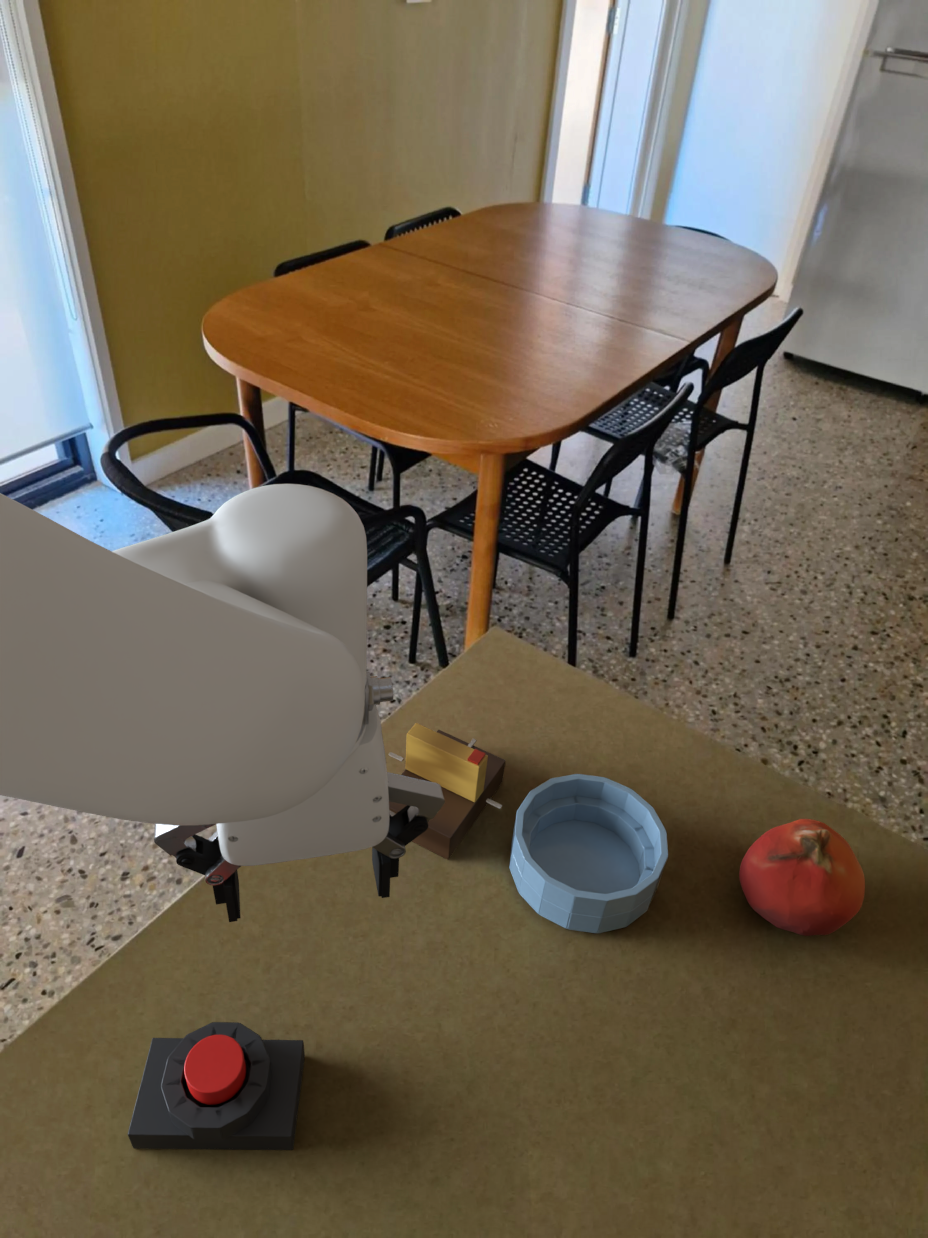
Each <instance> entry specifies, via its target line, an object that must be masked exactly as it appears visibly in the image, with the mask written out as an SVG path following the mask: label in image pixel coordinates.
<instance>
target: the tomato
mask: <svg viewBox="0 0 928 1238" xmlns="http://www.w3.org/2000/svg"><path fill="white" fill-rule="evenodd" d="M738 877H739V883H740V886H741V890H742V892H743V895H744V896H745V899H746V901H747V903H748V905H749V906H750V908H752V910H753V911H754V912H756V913H757V915H759V916H760V917H761V918H762V919H764V920H765V921H767V922H768V923H770V924H771V925H773V926H774V927H776V928H777V929H781V930H783V931H788V932H791V933H795V934H797V935H800V936H804V937H813V936H827V935H831V934H833V933H835V932H836V931H838V930H839V929H840V928H842V927H843V926H845V925H846V924H847V923H849V922H850V921H851V920H852V919H853V918H854V917H855V916H856V915H857V914H858V913H859V912H860V910H861V908H862V907H863V902H864V899H865V893H866V879H865V878H866V877H865V873H864V871H863V868H862V866H861V864H860V862H859V860H858V858H857V856H856V854H855V853H854V850H853V848H852V846H851V845H850V843H849V842H848V841H847V840H846V839H845V838H844V837H843V836H842V835H841V834H840V833H839V832H838V831H836V830H834V829H833V828H832V827H831V826H829V825H828V824H827V823H825V822H823V821H821V820H816V819H812V818H798V819H796V820H793V821H791V822H788V823H785V824H784V823H783V824H781V825H777V826H774V827H772V828H770V829H768V830H767V831H765V832H764V833H763V834H762V835H760V836H759V837H758V838H757V839H756V840H755V841H754V842H753V843H752V844H751V846H749V848H748V849H747V850H746V852H745V854H744V856H743V857H742V860H741V862H740V866H739V873H738Z"/></svg>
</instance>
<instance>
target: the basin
mask: <svg viewBox="0 0 928 1238" xmlns="http://www.w3.org/2000/svg"><path fill="white" fill-rule="evenodd" d="M510 844H511V845H510V855H509V857H510V858H509V865H508V867H509V871H510V874H511V877H512V879H513V882H514V884H515V887H516V891H517V892H518V894H519V895H520V896H521V897H522V899H524V901H525V902H526V903H527V904H528V905H529V906H530V907H531V909H533V911H534V912H535V913H536V914H537V915H538V916H541V917H542V918H544V919H546V920H548V921H550V922H552V923H553V924H556V925H558V926H560V927H562V928H564V929H566V930H569V931H578V932H584V933H592V934H602V933H607V932H610V931H614V930H619V929H622V928H623V929H624V928H627V927H628V926H630V925H631V924H632V923H634V922H635V921H636V920H637V919H638V918H640V917H642V916H643V915H644V914H645V913H646V912H647V911H648V910H649V907H650V905H651V903H652V901H653V899H654V896H655V894H656V892H657V890H658V887H659V884H660V881H661V878H662V875H663V874H664V873H663V872H664V870H665V867H666V864H667V861H668V858H669V848H668V834H667V830H666V828H665V826H664V824H663V822H662V821H661V819H660V817H659V815H658V813H657V811H656V810H655V808H654V806H652V805H651V804H650V803H649V802H647V800H645V799H644V798H643V797H642V796H641V795H640V794H638V793H637V792H636V791H635V790H634V789H632V788H631V787H628V786H626V785H624V784H621V783H619V782H618V781H615V780H612V779H610V778H609V777H604V776H598V775H590V774H583V773H574V774H567V775H563V776H557V777H552V778H549V779H548V780H546V781H545V782H542V783H541V784H539V785H538V786H536V787H534V788H533V789H531V790H530V791H529V792H528V793H527V795H526V796H525V798H524V800H523V801H522V802H521V804H520V806H519V807H518V809H517V810H516V814H515V821H514V826H513V833H512V838H511V843H510Z"/></svg>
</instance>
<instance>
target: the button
mask: <svg viewBox="0 0 928 1238" xmlns="http://www.w3.org/2000/svg"><path fill="white" fill-rule="evenodd" d="M184 1075H185V1078H186V1082H187V1085H188V1089H189V1091H190V1093H191V1095H192V1096H193V1097H194V1098H195V1099H196V1100H197V1101H199V1102H201V1103H203V1104H207V1105H216V1104H220V1103H223V1102H225V1101H227V1100H229V1099H230V1098H232V1097H233V1096H234V1095H235V1094H236V1093H237V1092H238V1091H239V1090H240V1088H241V1086H242V1084H243V1082H244V1080H245V1076H246V1065H245V1060H244V1054H243V1051H242V1048H241V1046H240V1045H239V1043H238V1042H237V1041H236V1040H235V1039H233V1038H231V1037H229V1036H226V1035H212V1036H209V1037H206V1038H204V1039H202V1040H201V1041H199V1042H198V1043H197V1044H196V1045H195V1046H194V1047H193V1048H192V1049H191V1051H190V1052H189V1054H188V1055H187V1058H186V1061H185V1065H184Z"/></svg>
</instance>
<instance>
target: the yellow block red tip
mask: <svg viewBox="0 0 928 1238" xmlns="http://www.w3.org/2000/svg"><path fill="white" fill-rule="evenodd" d="M405 739H406V742H405V743H406V744H405V765H404V766H405V767H404V770H405V769H406V770H408V771H410V772H412V773H414V774H417V775H419V776H421V777H423V778H425V779H427V780H429V781H431V782H434V783H438V784H440V785H441V787H443V788H446V789H448V790H450V791H452V792H454V793H456V794H458V795H460V796H462V797H464V798H466V799H468V800H470V801H472V802H476V801H477V799H478V798H479V796H480V795H481V794H482V792H483V791H484V783H485V775H486V767H487V759H488V755H486V754H485V753H483V752H481V751H479V750H477V749H473V748H470V747H468V746H466V745H464V744H462V743H460V742H457V741H455V740H453V739H451V738H449V737H446V736H444V735H442V734H440V733H438V732H437V730H433V729H431V728H429V727H427V726H425V725H422V724H420V723H418V722H415V723H414V724H413V725H412V727H411V728H410V729H409V730H408V732H407V733H406V738H405Z"/></svg>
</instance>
